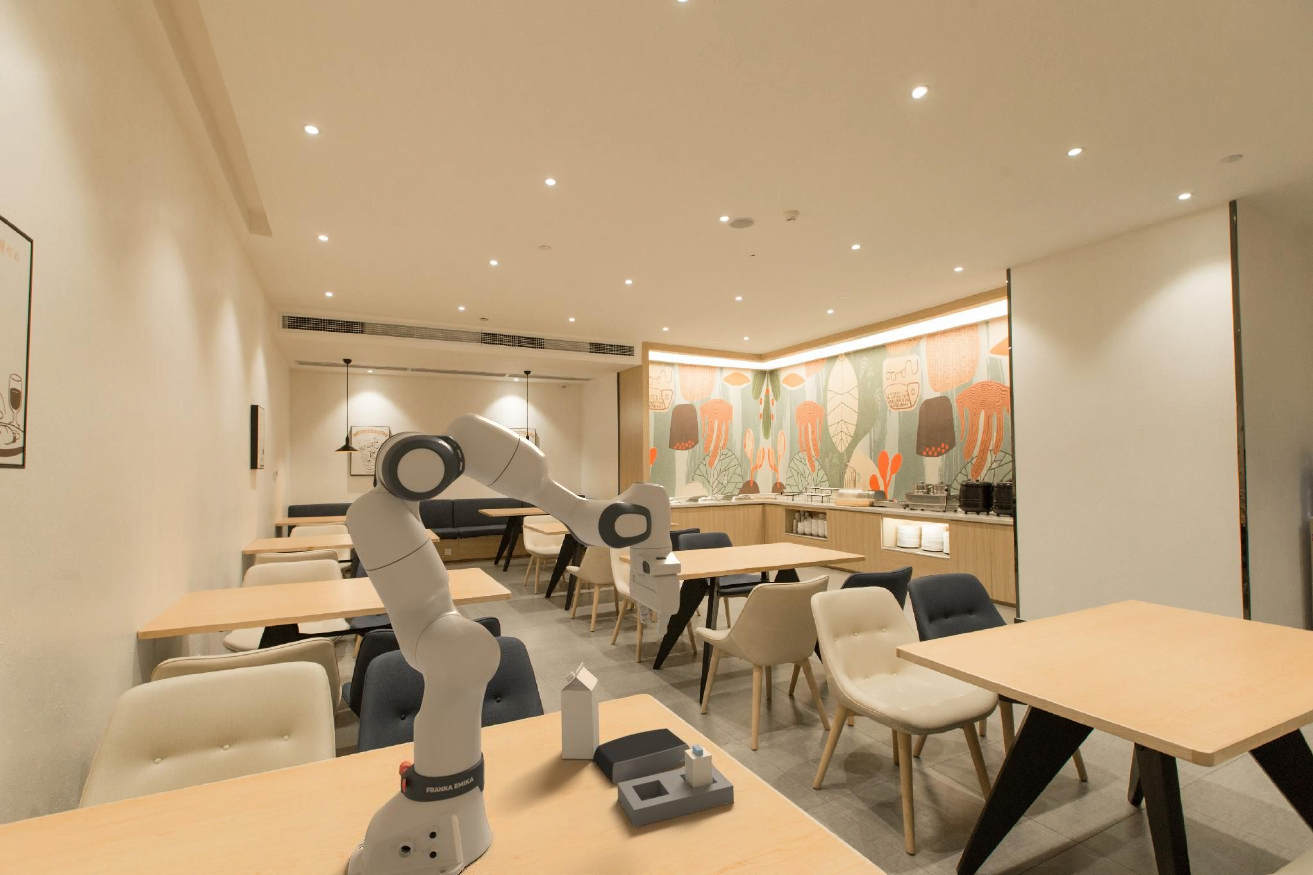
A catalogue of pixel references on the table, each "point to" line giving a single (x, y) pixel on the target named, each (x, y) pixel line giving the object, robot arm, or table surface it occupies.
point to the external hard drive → (640, 755)
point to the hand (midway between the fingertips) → (653, 628)
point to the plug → (698, 767)
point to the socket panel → (671, 796)
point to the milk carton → (580, 715)
